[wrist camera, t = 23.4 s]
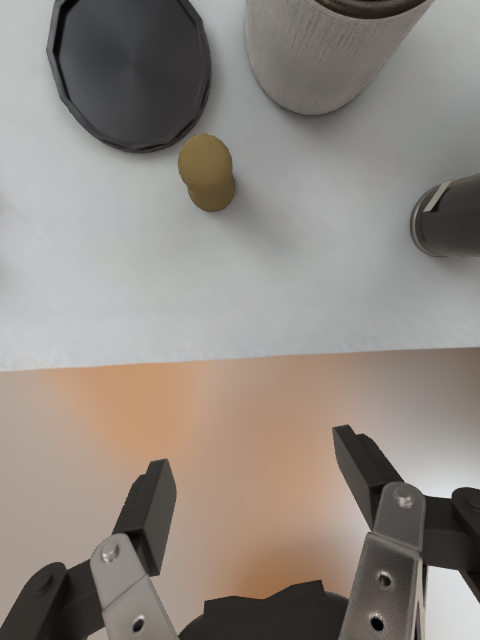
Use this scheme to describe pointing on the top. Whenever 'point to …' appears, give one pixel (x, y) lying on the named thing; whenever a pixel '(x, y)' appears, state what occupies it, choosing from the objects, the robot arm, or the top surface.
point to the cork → (207, 172)
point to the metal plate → (131, 69)
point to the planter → (323, 47)
